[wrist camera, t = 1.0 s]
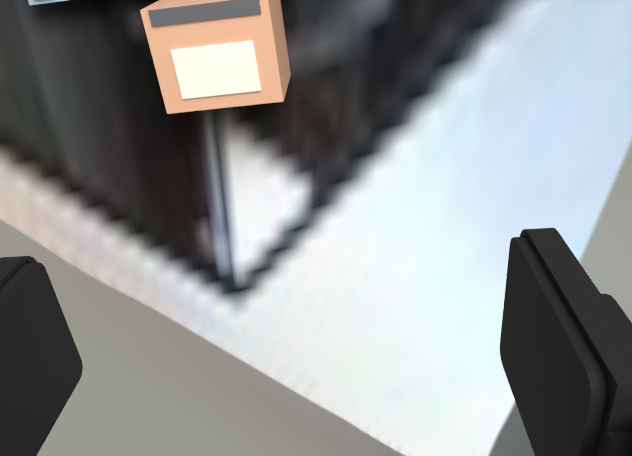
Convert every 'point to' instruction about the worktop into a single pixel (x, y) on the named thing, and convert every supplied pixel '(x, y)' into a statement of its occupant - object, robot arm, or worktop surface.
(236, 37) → the cardboard box
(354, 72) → the worktop surface
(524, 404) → the robot arm
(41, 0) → the blue microchip card
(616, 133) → the worktop surface
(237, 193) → the worktop surface
